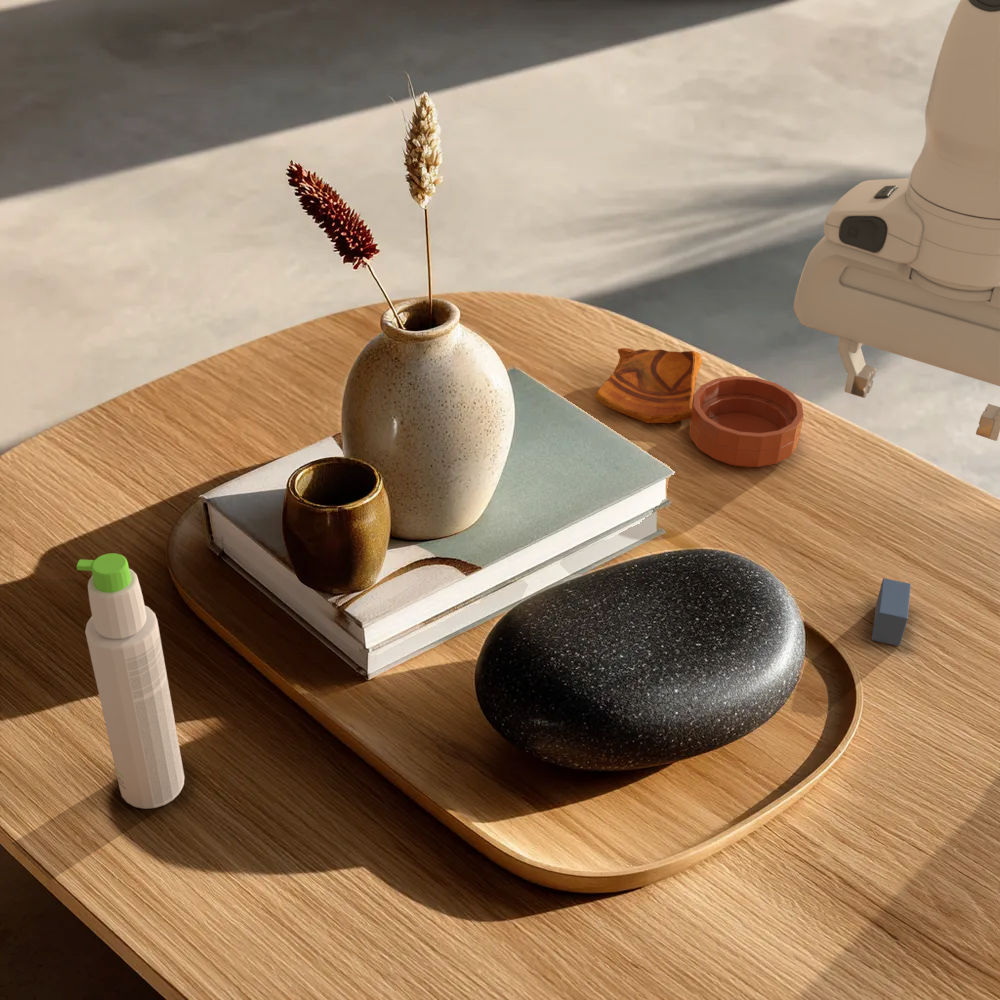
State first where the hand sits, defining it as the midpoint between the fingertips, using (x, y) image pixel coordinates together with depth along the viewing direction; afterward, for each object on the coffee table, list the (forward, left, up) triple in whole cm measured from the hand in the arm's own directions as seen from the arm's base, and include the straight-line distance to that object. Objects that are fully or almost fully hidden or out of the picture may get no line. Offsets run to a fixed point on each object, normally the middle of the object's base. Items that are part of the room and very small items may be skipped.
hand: (921, 412), depth 93 cm
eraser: (-2, +1, -21) cm, 21 cm away
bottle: (+52, -20, -21) cm, 60 cm away
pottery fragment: (-10, -35, -21) cm, 43 cm away
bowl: (-12, -24, -21) cm, 35 cm away
